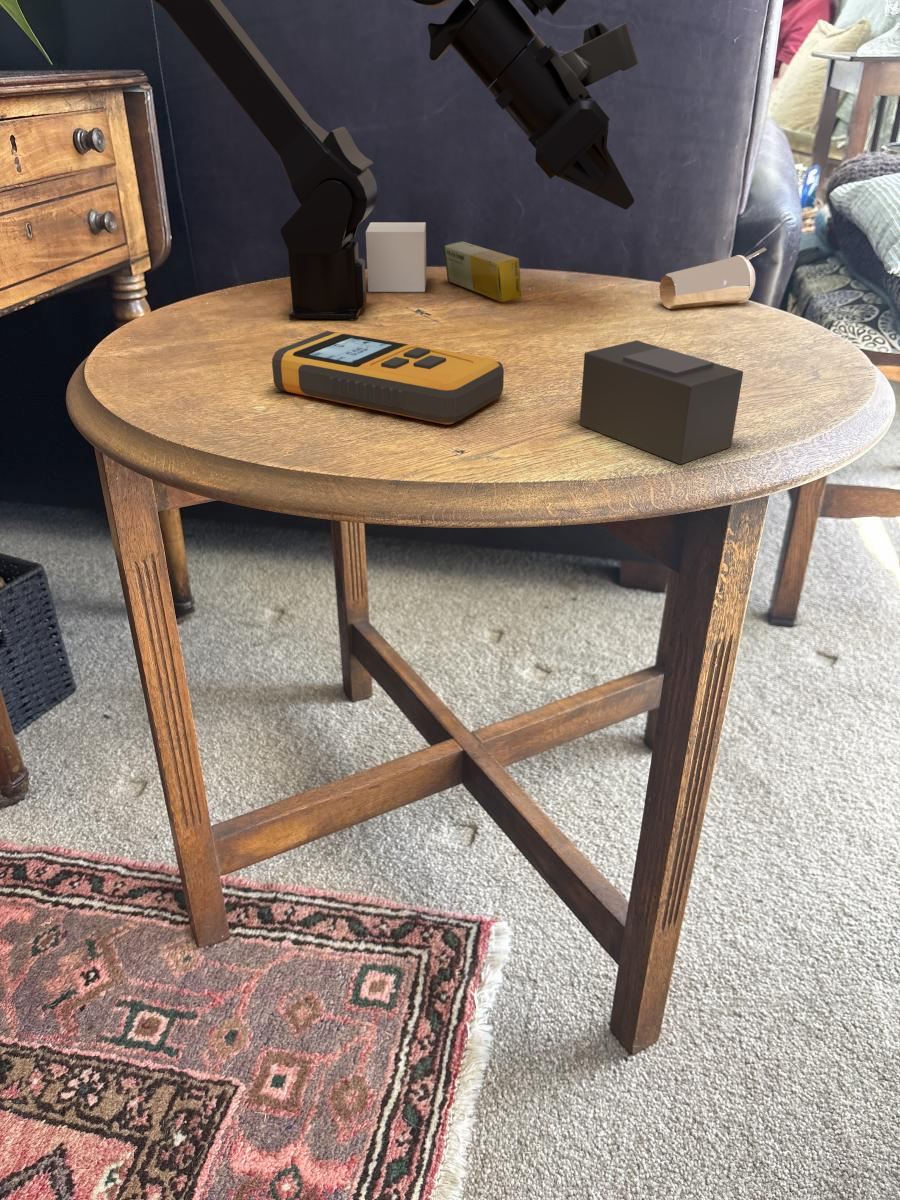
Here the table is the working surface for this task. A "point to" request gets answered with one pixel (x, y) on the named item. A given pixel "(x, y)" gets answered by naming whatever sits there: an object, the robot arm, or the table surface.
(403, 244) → the white cube
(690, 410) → the block
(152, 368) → the table surface
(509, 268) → the medication box
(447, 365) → the electronic device
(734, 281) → the milkshake
